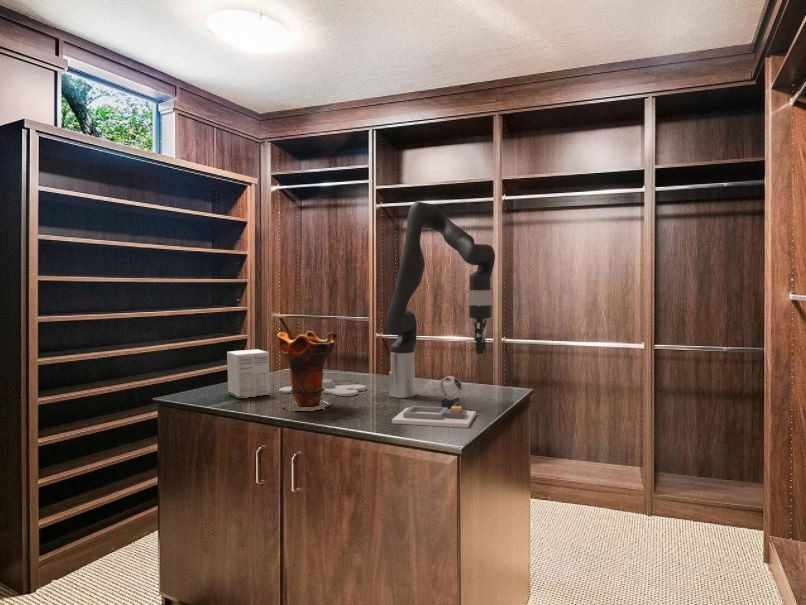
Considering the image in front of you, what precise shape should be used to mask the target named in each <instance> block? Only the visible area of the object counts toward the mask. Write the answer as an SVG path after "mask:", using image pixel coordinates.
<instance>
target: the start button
mask: <svg viewBox="0 0 806 605" xmlns="http://www.w3.org/2000/svg"><path fill="white" fill-rule="evenodd" d="M462 410H463V408H462V405H459V406H452V407H451V413H462Z"/></svg>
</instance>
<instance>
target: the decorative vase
mask: <svg viewBox="0 0 806 605" xmlns="http://www.w3.org/2000/svg"><path fill="white" fill-rule="evenodd" d="M276 337H277V338H278V349H279V352H280V354H281V355H282V357H283V358H284V359H285V360H286V361H287V362H288V369H289V379H290V387H292V389H291V392H292V393H293V394H291V397H292V399H293V400H294V402H295V403H296V405H297V406H299V407H315V406H319V405H320V402H321V401H323V402H325V403H327V404H329V403H328V401H325V400H322V399H321V398H322V391H325V390H324V389H323V388H322V380H323V379H324V366H325V361H326V360H327V359H328V357H329V356H330V355H332V354H333V351H334V349H335V345H336V343H335V340H336V339H337V334H336V332H335V333H334V332H329V333H327V338H326V339H320V338H319V337H318V336H317V334H316V333H315V332H314V331H312V330H309V331H306V332H305V334H299V335H297V337H295V339H290V338H289V334H288V333H286V332H278V333H277V335H276ZM326 396H327V398H329V397H328V395H326ZM330 406H331V405H328V406H326V407H324V408H326V409H327V408H328V407H330Z"/></svg>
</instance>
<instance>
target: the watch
mask: <svg viewBox="0 0 806 605" xmlns="http://www.w3.org/2000/svg"><path fill="white" fill-rule="evenodd" d="M446 379H449V381H450V383H451V386H452V388H453V389H454V390H455V392H456V396H455V397H452V396H448V393H447V391H446V389H445V386H444V381H445V380H446ZM462 390H463V384H462V382H461V380H460V379H459V378H457V377H456V376H454V375H453V376H451V375H448V376H446V377H443V378H442V379H440V381H439V391H440V393H441V396H442V397H443V398H442V399H441V407H446V408H448V410H449V409H451V407H452V406H460V396H461V394H462V392H463V391H462Z"/></svg>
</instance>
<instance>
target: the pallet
mask: <svg viewBox="0 0 806 605" xmlns="http://www.w3.org/2000/svg"><path fill="white" fill-rule="evenodd" d="M476 414H477V410H467V409H462V413H451V409H448V408H446V407H442V406H422V405H411V406H410V407H405V408H404V409H403V410H402V411H400V412H399V413H398V414H397V415H396V416H395V417H393V418H392V419H391V424H393V425H394V424H398V425H410V426H411V425H412V426H413V425H414V426H415V425H416V426H432V427H445V428H446V427H449V428H453V427H454V428H465V429H468V428H469V426H470V425H471V423H472V422H473V421H474V419H473V418H475V417H476Z"/></svg>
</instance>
